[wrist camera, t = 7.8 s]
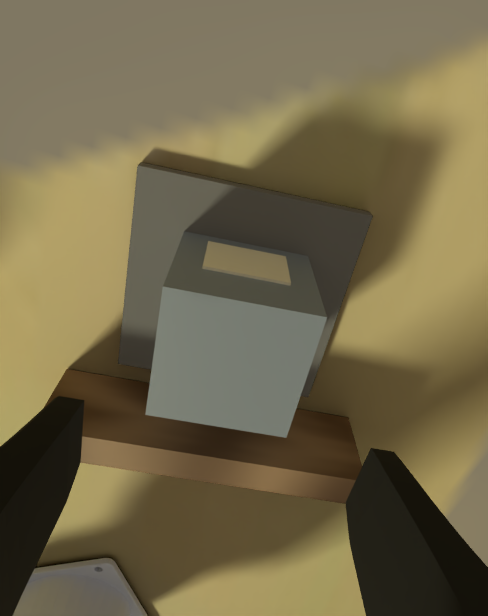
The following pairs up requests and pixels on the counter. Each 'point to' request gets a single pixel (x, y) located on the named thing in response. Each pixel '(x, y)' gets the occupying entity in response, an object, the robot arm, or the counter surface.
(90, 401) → the walnut screen
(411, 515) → the robot arm
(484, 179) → the counter surface
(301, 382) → the slate cube
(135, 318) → the mat
